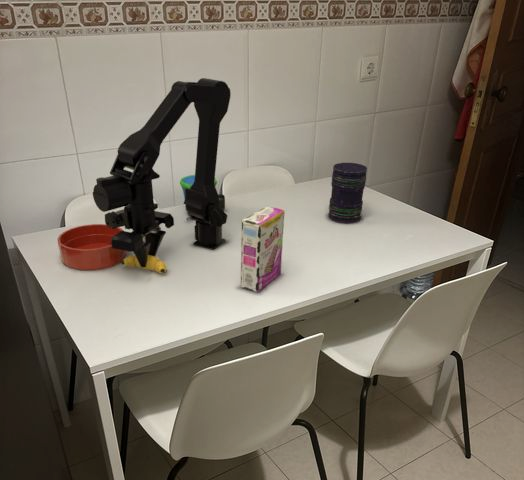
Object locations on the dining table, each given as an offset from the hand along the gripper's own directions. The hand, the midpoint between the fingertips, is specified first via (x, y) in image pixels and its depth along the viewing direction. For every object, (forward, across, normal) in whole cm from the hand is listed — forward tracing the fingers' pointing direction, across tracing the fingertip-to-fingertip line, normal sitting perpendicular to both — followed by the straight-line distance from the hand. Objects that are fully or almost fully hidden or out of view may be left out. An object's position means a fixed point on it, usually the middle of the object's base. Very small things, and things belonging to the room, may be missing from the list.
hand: (147, 263), depth 128 cm
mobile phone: (-2, -38, -3) cm, 38 cm away
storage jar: (0, -53, +36) cm, 64 cm away
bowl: (+1, 0, -15) cm, 15 cm away
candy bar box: (+1, -5, +28) cm, 29 cm away
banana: (+1, 0, 0) cm, 1 cm away
